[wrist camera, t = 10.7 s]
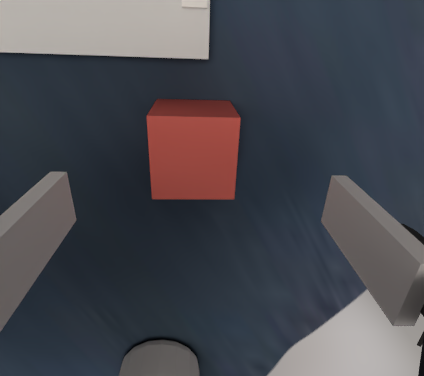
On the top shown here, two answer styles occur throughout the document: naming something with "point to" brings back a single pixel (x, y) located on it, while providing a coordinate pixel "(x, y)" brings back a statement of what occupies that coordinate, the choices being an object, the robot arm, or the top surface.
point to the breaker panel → (106, 27)
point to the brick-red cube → (193, 149)
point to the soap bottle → (160, 360)
